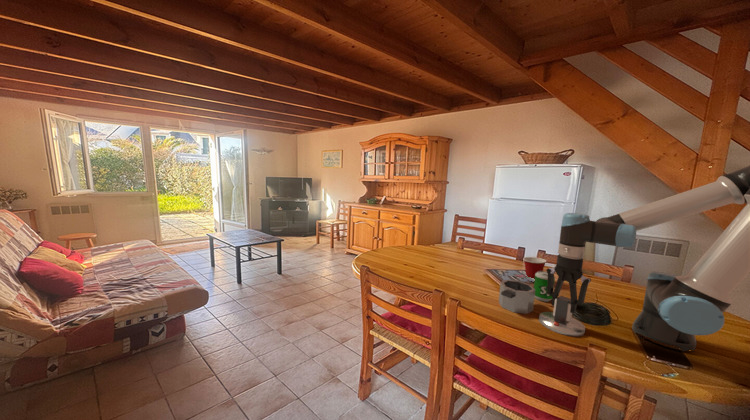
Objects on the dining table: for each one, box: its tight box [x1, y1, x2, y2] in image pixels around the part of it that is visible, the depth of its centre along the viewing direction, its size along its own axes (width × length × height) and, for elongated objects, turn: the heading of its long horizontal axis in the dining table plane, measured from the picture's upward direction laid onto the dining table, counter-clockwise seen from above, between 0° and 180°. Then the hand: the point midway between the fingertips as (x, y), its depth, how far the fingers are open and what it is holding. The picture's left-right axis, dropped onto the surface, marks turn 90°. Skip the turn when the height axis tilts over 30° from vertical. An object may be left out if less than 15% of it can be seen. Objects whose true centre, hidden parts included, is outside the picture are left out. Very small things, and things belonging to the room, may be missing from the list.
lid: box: [538, 295, 586, 338], centre depth 98 cm, size 14×14×10 cm
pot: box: [498, 279, 536, 315], centre depth 112 cm, size 12×17×9 cm
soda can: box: [533, 270, 556, 303], centre depth 120 cm, size 8×8×12 cm
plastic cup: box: [522, 256, 547, 279], centre depth 141 cm, size 11×11×12 cm
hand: (561, 317), depth 99 cm, fingers closed on lid, 3 cm apart
